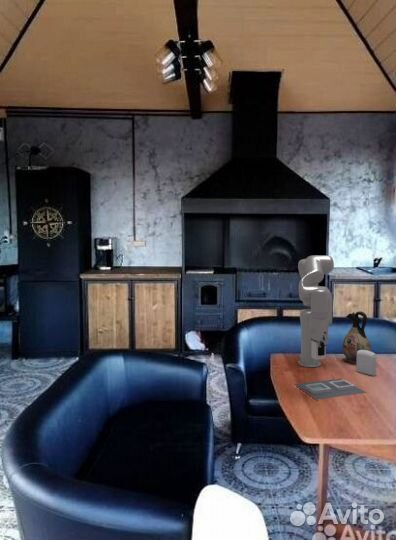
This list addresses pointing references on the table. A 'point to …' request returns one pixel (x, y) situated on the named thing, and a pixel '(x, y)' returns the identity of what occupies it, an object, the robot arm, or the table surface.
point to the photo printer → (366, 362)
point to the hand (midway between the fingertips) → (318, 353)
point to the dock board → (329, 388)
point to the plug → (316, 350)
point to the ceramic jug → (355, 337)
